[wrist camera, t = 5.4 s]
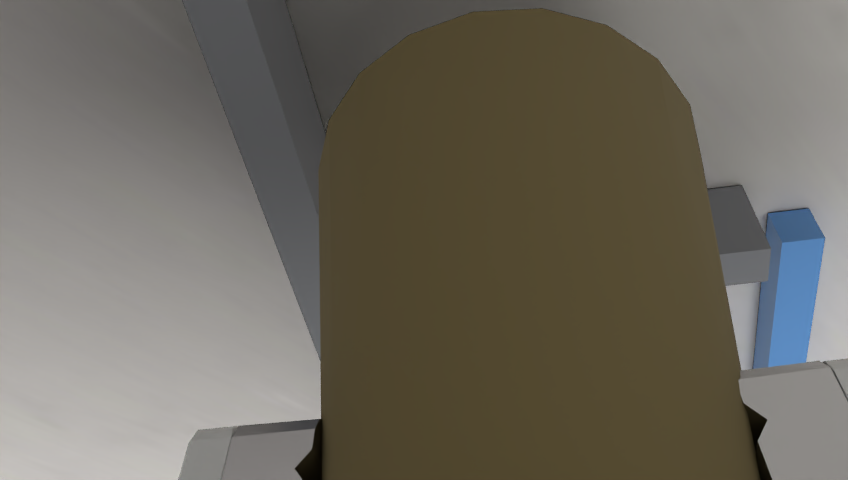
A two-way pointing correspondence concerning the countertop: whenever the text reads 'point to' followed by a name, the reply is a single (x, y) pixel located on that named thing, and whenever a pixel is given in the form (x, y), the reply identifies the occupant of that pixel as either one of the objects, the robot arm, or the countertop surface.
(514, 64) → the cork
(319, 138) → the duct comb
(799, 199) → the countertop surface
